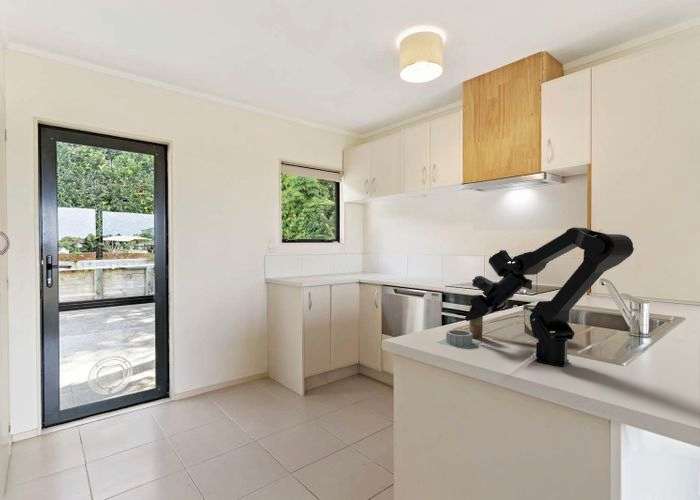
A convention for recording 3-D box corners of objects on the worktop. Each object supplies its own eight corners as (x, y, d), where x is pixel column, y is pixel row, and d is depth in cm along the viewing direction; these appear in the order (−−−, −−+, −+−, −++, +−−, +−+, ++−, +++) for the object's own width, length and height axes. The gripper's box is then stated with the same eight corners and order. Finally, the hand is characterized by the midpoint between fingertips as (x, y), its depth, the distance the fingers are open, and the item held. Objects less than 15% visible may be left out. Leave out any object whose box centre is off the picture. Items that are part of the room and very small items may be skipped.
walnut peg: (484, 340, 117) (484, 306, 117) (479, 342, 114) (479, 308, 114) (472, 338, 120) (472, 305, 120) (467, 340, 117) (467, 306, 117)
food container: (559, 341, 116) (559, 311, 116) (539, 341, 117) (540, 310, 116) (539, 332, 129) (540, 304, 129) (522, 332, 129) (522, 304, 129)
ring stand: (481, 345, 111) (481, 332, 111) (467, 352, 103) (467, 338, 103) (451, 339, 118) (451, 327, 118) (436, 345, 110) (436, 332, 110)
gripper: (499, 266, 121) (467, 296, 129) (476, 269, 107) (442, 301, 115) (524, 292, 116) (489, 321, 124) (503, 298, 102) (465, 330, 110)
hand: (471, 317), depth 118 cm, fingers open, 9 cm apart
